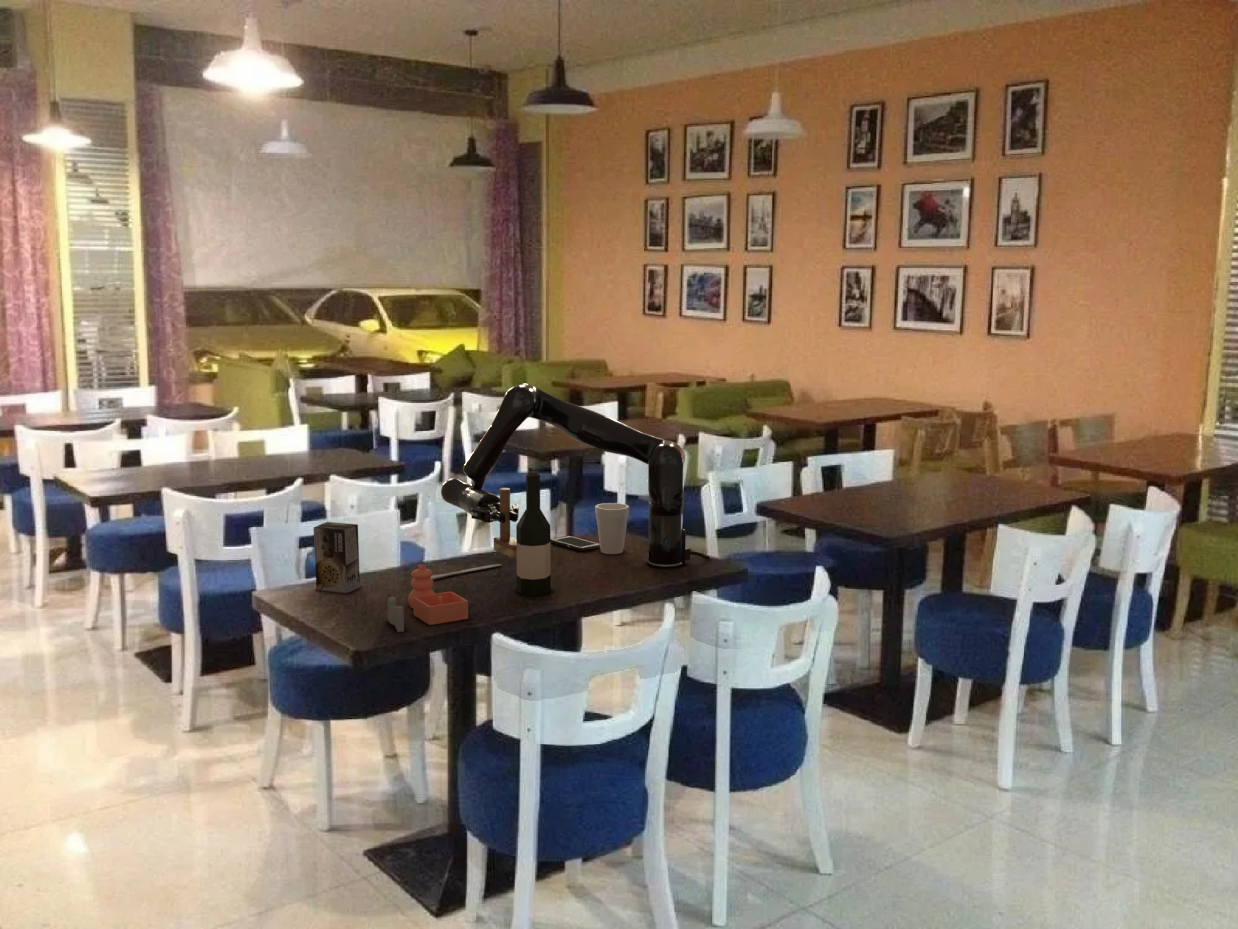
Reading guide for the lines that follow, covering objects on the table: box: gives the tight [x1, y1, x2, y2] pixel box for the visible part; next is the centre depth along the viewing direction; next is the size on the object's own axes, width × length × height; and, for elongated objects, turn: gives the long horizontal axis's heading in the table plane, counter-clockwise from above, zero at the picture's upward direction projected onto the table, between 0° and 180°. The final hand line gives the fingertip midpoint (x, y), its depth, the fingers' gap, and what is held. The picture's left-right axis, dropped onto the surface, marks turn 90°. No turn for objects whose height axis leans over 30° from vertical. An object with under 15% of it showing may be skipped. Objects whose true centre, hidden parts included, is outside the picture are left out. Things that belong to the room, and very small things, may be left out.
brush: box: [493, 487, 517, 559], centre depth 290 cm, size 10×4×16 cm, turn 35°
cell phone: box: [550, 535, 600, 552], centre depth 334 cm, size 8×15×1 cm, turn 43°
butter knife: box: [430, 564, 502, 581], centre depth 303 cm, size 1×24×3 cm
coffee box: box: [312, 521, 361, 594], centre depth 285 cm, size 9×6×16 cm
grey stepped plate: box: [386, 596, 405, 633], centre depth 258 cm, size 6×1×10 cm
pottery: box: [407, 563, 469, 626], centre depth 268 cm, size 18×10×10 cm, turn 33°
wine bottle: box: [515, 470, 552, 597], centre depth 284 cm, size 8×8×30 cm
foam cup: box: [594, 502, 630, 555], centre depth 326 cm, size 10×9×13 cm
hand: (509, 518), depth 290 cm, fingers closed on brush, 2 cm apart
